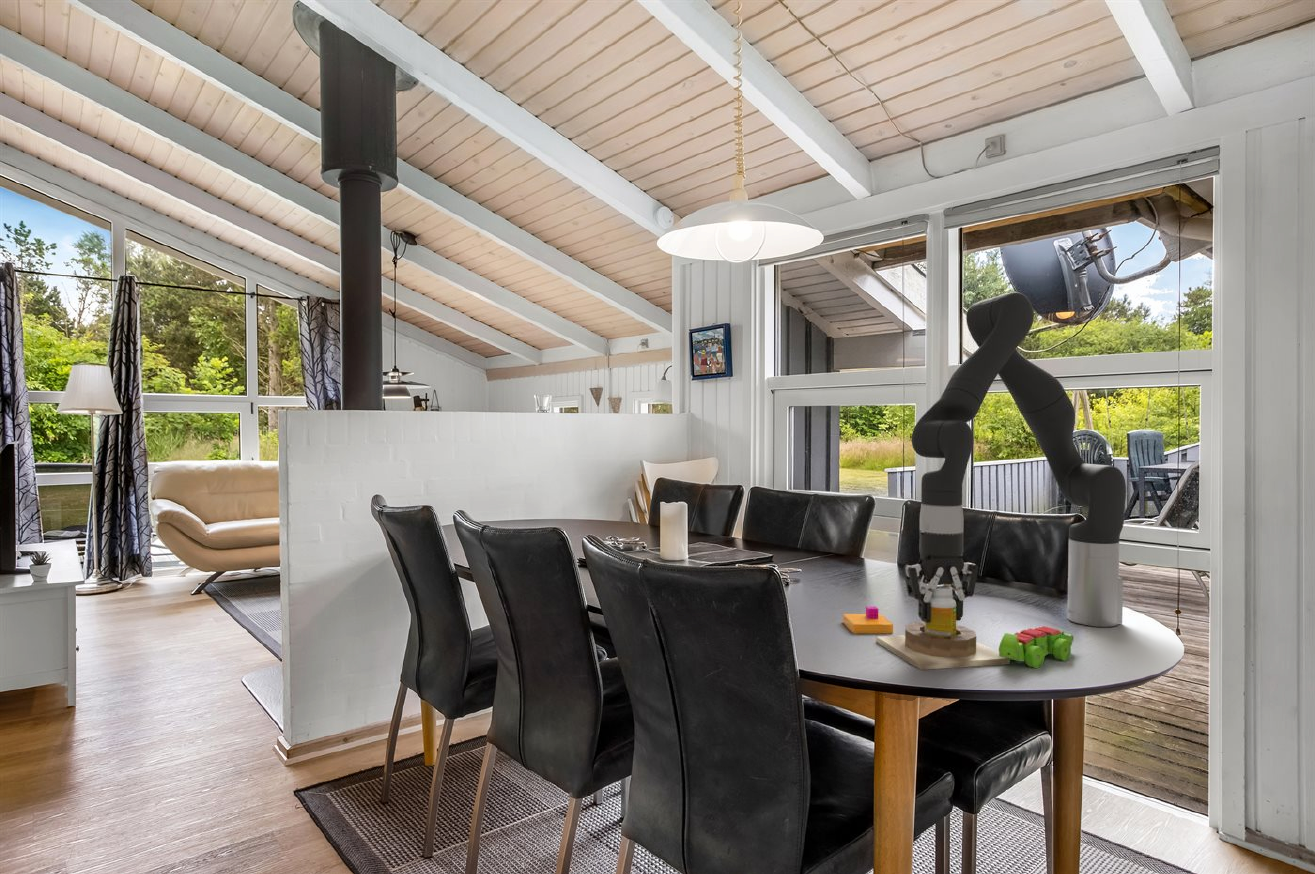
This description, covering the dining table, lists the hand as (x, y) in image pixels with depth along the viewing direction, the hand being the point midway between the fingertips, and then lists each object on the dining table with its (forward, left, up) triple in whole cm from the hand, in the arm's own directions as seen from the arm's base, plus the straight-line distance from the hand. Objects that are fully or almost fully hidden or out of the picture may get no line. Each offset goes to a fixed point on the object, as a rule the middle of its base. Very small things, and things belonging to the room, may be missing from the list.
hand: (940, 620), depth 136 cm
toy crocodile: (-15, +6, -6) cm, 17 cm away
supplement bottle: (0, 0, -4) cm, 4 cm away
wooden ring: (0, 0, -5) cm, 5 cm away
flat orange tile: (+6, -17, -7) cm, 20 cm away
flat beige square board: (0, 0, -6) cm, 6 cm away
